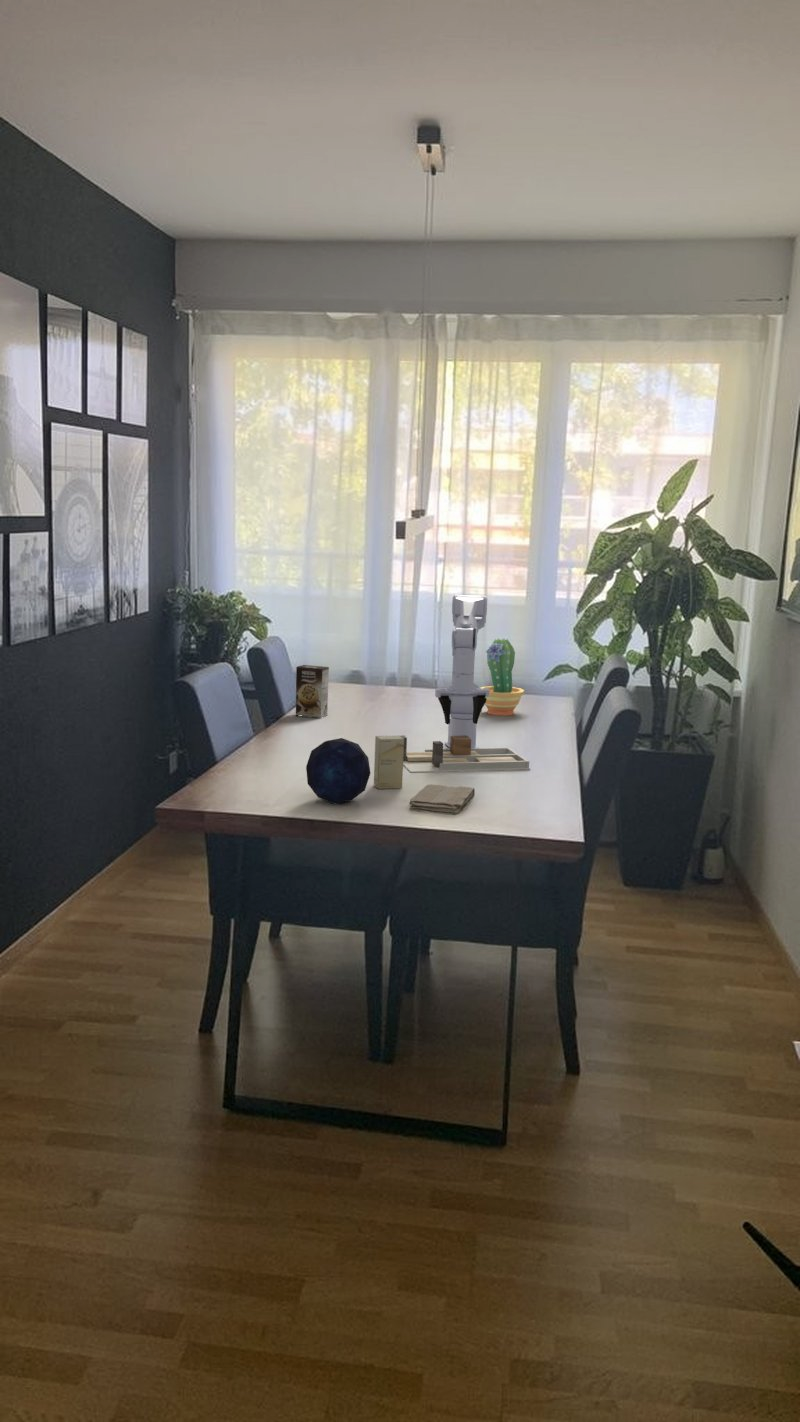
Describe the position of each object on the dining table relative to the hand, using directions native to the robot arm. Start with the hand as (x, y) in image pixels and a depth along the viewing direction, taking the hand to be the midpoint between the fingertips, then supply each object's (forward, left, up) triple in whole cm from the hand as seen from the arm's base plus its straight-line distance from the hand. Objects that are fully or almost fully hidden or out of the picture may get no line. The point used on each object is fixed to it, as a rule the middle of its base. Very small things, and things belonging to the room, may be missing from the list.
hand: (461, 723), depth 277 cm
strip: (0, -6, -9) cm, 11 cm away
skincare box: (+26, -25, -10) cm, 38 cm away
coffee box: (-66, -31, -10) cm, 74 cm away
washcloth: (+41, -16, -11) cm, 46 cm away
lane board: (+4, -1, -10) cm, 11 cm away
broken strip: (+8, +2, -9) cm, 12 cm away
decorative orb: (+37, -39, -10) cm, 55 cm away
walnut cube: (0, 0, -8) cm, 8 cm away
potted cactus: (-66, +33, -10) cm, 74 cm away
